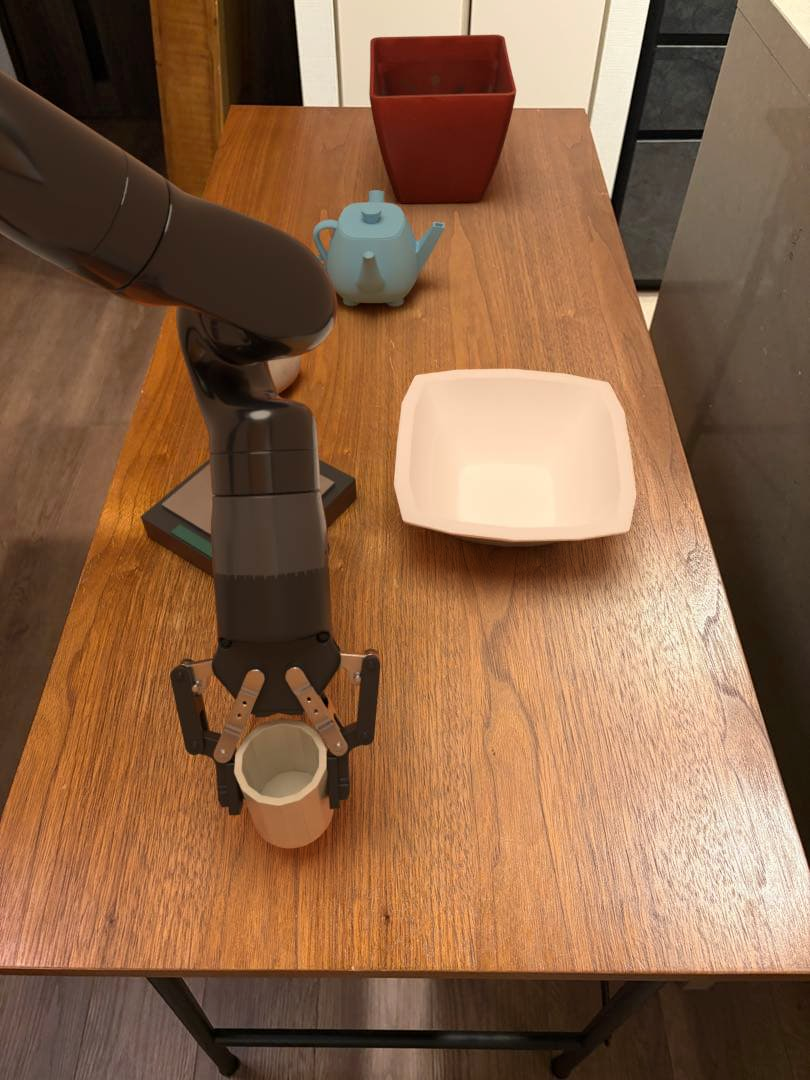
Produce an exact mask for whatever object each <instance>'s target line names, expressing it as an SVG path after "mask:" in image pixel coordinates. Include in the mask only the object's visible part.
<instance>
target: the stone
mask: <svg viewBox="0 0 810 1080" xmlns="http://www.w3.org/2000/svg"><path fill="white" fill-rule="evenodd" d="M301 356H302V355H300V356H296V357H292V358H285V359H279V360H272V361H268V365H269V369H270V373H271V376H272V379H273V382H274V385H275V387H276V390H277V393H278V395H280V394H281V393H282V392H283V391H285V390H286V389H287V388H289V387H290V386H291V385H292V384H293V383H294V382H295V380H296V379H297V378H298V376H299V373H300V371H301V367H302V357H301Z"/></svg>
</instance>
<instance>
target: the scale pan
mask: <svg viewBox="0 0 810 1080" xmlns="http://www.w3.org/2000/svg"><path fill="white" fill-rule="evenodd" d="M320 487H321V489H320V490H319V491H321V496H322V498H323V497H324V496H325V495H326V494H327V493H328V492H330V491H331V490H332V489H333V488H334V487H335V482H334V481H332V480H330V479H328V478H326V477H324V476H322V475H320ZM213 496H215V495H212V489H211V475H210V464H209V465H207V466H206V467H205V468H204V469H203V470H201V471H200V472H199V473H198V474H197V475H196V476H194V477H193V478H192V479H191V480H190V481H188V482H187V483H186V484H185V485H184V486H182V487H181V488H180V489H179V490H178V491H177V492H175V493H174V494H173V495H172V496H171V497H169V498H168V499H167V500H166V501H165V502H164V503H162V508H163V509H165V510H167V511H168V512H170V513H172V514H173V515H175V516H177V517H178V518H180V519H181V520H183V521H185V522H186V523H188V524H190V525H191V526H193V527H195V528H196V529H198V530H200V531H201V532H203V533H205V534H206V535H208V536H210V537H211V517H212V497H213Z"/></svg>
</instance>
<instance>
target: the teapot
mask: <svg viewBox="0 0 810 1080" xmlns="http://www.w3.org/2000/svg"><path fill="white" fill-rule="evenodd" d="M385 195H386V193H385V191H383V190H380V189H371V190H369V191H368V201H366V202H365V201H364V202H353V203H351V204H349V205H347V206H346V207H344V209H343V210H342V211H341V212H340V215H339V218H338V219H337V220H336V219H324V220H321V221H320V222H318V223H317V224H316V225H315V226H314V228H313V231H312V239H313V243H314V246H315V248H316V250H317V252H318V255H316V256H317V258H318V259H319V260H320V261H322V262H323V263H322V264H323V265H324V267H325V269H326V270H327V272H328V274H329V276H330V278H331V280H332V282H333V285H334V288H335V292H336V293H337V295H339V296H340V298H342V302H343V304H344V305H346V306H348V307H354V306H355V307H356V306H358V305H359V304H360V303H363V304H383V303H384V304H385V303H386V305H388V306H389V307H399V306H402V305H403V304H404V298H405V297H406V296H408V294H409V293H410V292H411V290H412V289H413V288H414V285H415V283H416V282H417V279H418V277H419V274H420V272H422V271H423V269H424V267H425V266H426V264H427V262H428V260H429V259H430V257H431V255H432V253H433V251H434V250H435V247H436V246H437V244H438V242H439V240H440V238H441V237H442V235H443V233H444V231H445V227H446V226H445V225H446V223H445V222H441V221H440V222H439V221H433V222H432V223H431V226H430V227H429V228H428V229H427V230H426V231H425V232H424V233H423V235H422V236H421V237H420V239H419V240H416V237H415V234H414V231H413V230H412V227H411V225H410V223H409V221H408V218H407V216H406V215H405V213H404V211H403V210H402V208H401V207H400V206H398V205H397V204H395V203H390V202H385V200H386V199H385V198H386V197H385ZM329 229H332V230H333V231H332V234H331V236H330V240H329V243H328V249H327V250H326V247H325V246H324V244H323V242H322V240H321V236H320V233H321V232H322V231H324V230H329Z"/></svg>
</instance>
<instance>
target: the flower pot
mask: <svg viewBox="0 0 810 1080" xmlns="http://www.w3.org/2000/svg"><path fill="white" fill-rule="evenodd" d="M368 91H369V92H368V95H369V96H368V97H369V104H370V109H371V115H372V120H373V125H374V130H375V134H376V135H375V136H376V138H377V144H378V147H379V148H378V149H379V151H380V155H381V158H382V162H383V166H384V169H385V172H386V175H387V178H388V180H389V185H390V187H391V190H392V192H393V195H394V197H395V199H396V201H397V202H398V203H400V204H421V203H422V204H424V203H427V204H428V203H465V202H466V203H467V202H481V201H482V200H483V199H484V197H485V196H486V194H487V191H488V190H489V187H490V185H491V182H492V180H493V176H494V175H495V171H496V169H497V166H498V164H499V160H500V157H501V155H502V151H503V149H504V145H505V142H506V139H507V135H508V131H509V127H510V124H511V118H512V115H513V109H514V105H515V101H516V95H517V87H516V83H515V80H514V76H513V71H512V67H511V62H510V57H509V52H508V48H507V43H506V38H505V37H504V36H503V35H500V34H461V35H457V34H456V35H416V36H415V35H412V36H410V35H409V36H376V37H373V38H371V39H370V41H369V89H368Z"/></svg>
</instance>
